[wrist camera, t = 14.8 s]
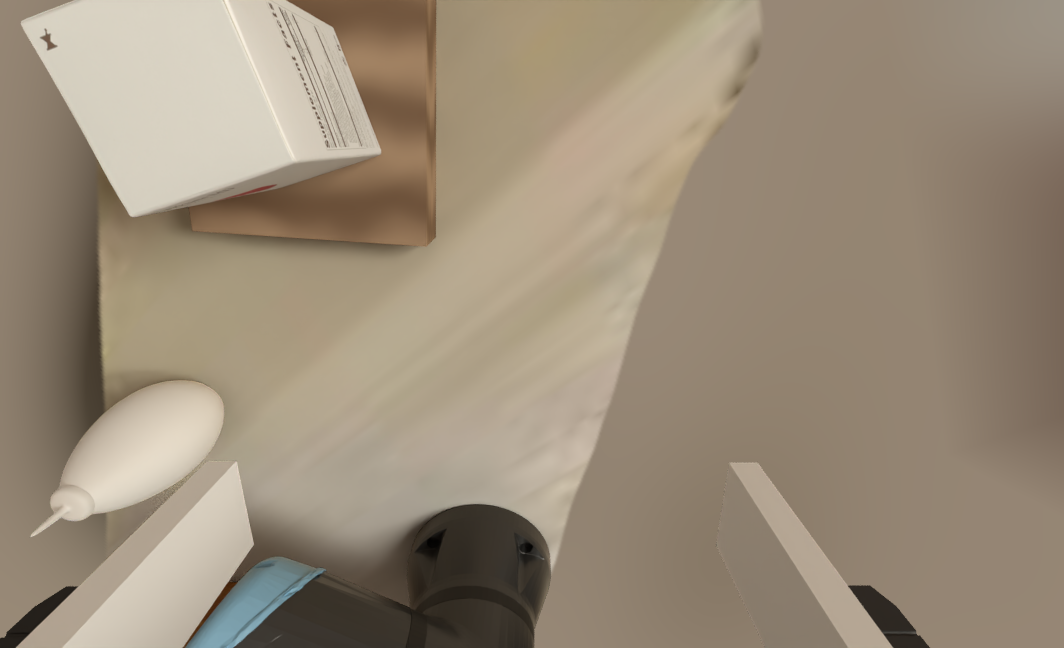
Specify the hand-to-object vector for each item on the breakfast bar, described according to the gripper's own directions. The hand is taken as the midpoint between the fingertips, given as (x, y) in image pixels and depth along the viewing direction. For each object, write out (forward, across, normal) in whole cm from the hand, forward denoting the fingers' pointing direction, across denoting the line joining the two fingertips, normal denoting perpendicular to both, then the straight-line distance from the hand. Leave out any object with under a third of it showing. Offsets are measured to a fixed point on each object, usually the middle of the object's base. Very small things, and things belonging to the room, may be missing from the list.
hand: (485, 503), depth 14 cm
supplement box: (+28, +15, -11) cm, 34 cm away
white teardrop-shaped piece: (+33, +30, +14) cm, 46 cm away
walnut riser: (+32, +15, -11) cm, 37 cm away
